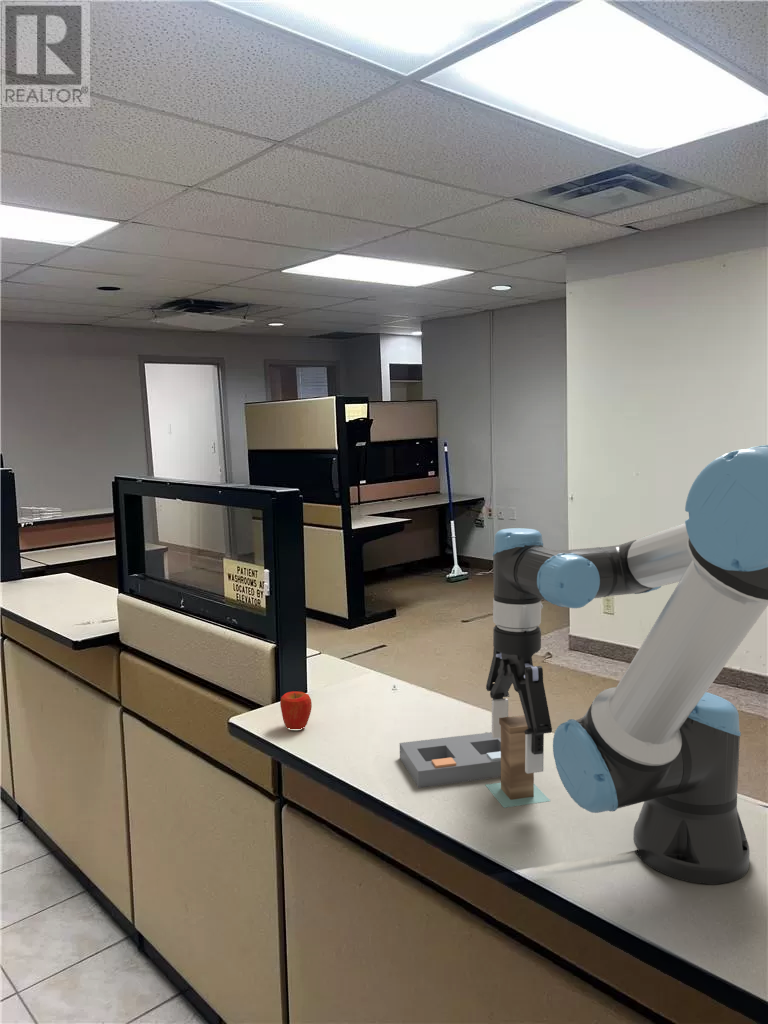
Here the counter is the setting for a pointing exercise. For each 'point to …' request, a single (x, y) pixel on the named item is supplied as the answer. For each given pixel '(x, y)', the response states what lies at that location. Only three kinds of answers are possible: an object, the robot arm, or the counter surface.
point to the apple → (295, 709)
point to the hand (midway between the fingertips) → (516, 753)
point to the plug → (514, 759)
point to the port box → (452, 759)
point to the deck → (506, 802)
